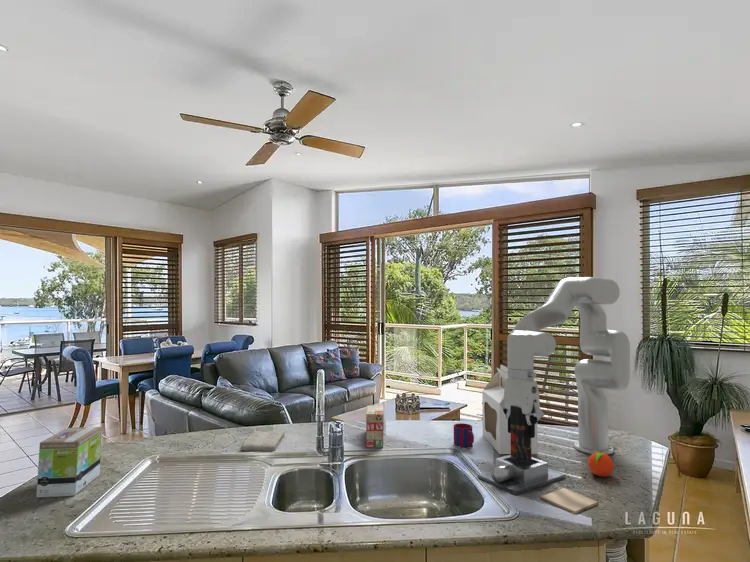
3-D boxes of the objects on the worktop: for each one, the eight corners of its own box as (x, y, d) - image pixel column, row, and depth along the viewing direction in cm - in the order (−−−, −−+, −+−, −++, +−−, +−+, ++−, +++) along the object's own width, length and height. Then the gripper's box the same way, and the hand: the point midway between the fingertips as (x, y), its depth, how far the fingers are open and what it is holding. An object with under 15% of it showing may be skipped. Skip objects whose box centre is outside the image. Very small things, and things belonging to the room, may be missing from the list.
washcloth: (285, 436, 174) (285, 428, 174) (275, 452, 156) (275, 443, 156) (254, 436, 174) (255, 428, 174) (241, 452, 156) (241, 443, 156)
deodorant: (532, 461, 130) (532, 408, 131) (511, 459, 131) (511, 407, 132) (530, 454, 136) (529, 404, 136) (509, 452, 137) (509, 403, 138)
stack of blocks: (367, 430, 181) (367, 399, 182) (383, 430, 181) (383, 399, 182) (366, 448, 160) (366, 413, 160) (383, 448, 160) (383, 413, 160)
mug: (467, 441, 167) (467, 422, 168) (479, 450, 158) (479, 430, 158) (450, 442, 166) (450, 423, 166) (462, 451, 156) (462, 431, 156)
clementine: (609, 483, 129) (608, 458, 130) (584, 477, 134) (583, 453, 134) (616, 475, 135) (616, 451, 135) (592, 469, 140) (592, 446, 140)
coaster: (563, 490, 125) (563, 487, 125) (598, 503, 116) (598, 501, 116) (540, 498, 119) (540, 496, 119) (575, 513, 111) (575, 511, 111)
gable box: (482, 435, 175) (481, 363, 176) (515, 434, 175) (515, 363, 176) (500, 455, 153) (499, 372, 154) (538, 454, 153) (537, 372, 154)
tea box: (76, 496, 120) (78, 440, 121) (35, 499, 119) (37, 442, 119) (101, 474, 135) (102, 425, 136) (64, 476, 134) (66, 426, 134)
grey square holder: (526, 463, 145) (526, 447, 145) (565, 477, 133) (565, 460, 134) (477, 477, 133) (477, 460, 133) (515, 495, 122) (515, 476, 122)
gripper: (553, 377, 129) (554, 440, 129) (506, 369, 144) (506, 426, 143) (536, 379, 125) (537, 445, 124) (490, 371, 140) (490, 429, 139)
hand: (520, 434), depth 134 cm, fingers closed on deodorant, 6 cm apart
